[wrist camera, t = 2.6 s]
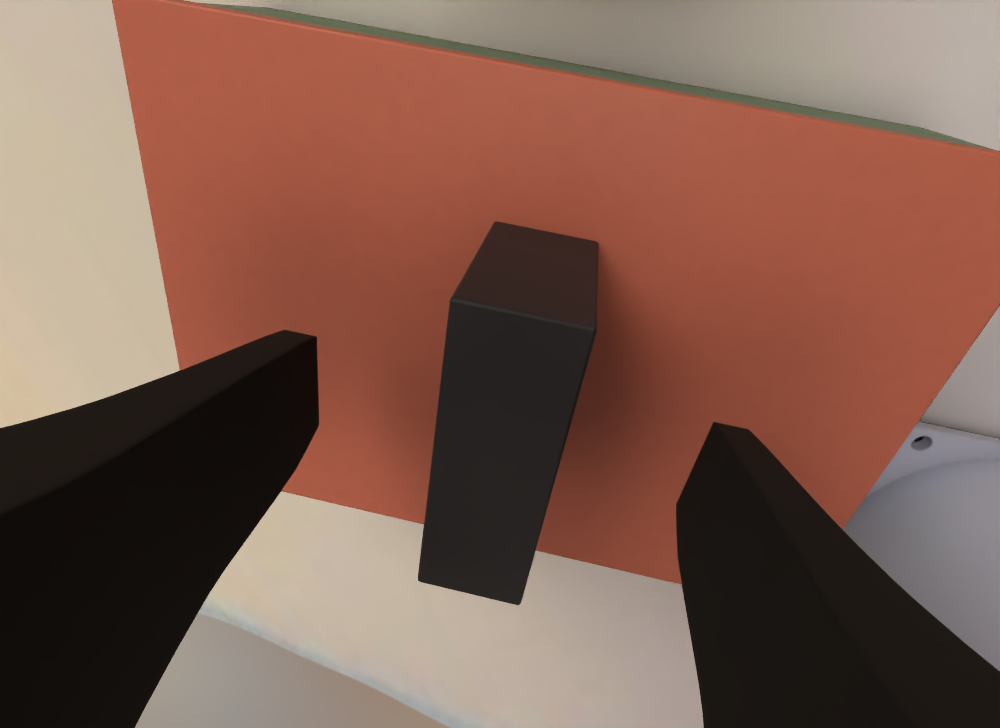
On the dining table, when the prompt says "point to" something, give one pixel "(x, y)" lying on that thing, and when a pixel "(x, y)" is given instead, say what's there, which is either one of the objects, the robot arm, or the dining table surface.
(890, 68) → the dining table surface
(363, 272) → the lunchbox lid
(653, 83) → the box
